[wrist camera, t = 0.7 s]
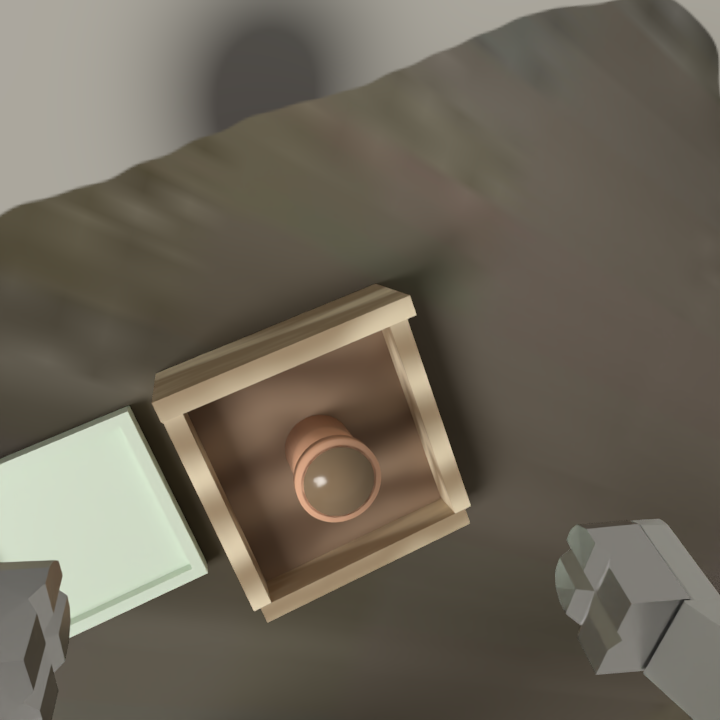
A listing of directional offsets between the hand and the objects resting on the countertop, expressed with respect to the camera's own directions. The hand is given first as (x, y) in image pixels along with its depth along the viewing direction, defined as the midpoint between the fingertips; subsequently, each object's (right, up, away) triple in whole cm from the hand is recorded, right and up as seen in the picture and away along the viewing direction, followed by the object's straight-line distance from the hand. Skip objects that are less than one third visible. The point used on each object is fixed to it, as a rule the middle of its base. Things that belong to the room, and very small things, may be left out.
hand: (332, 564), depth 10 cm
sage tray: (-23, -11, +44) cm, 51 cm away
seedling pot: (-3, -4, +48) cm, 48 cm away
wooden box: (-3, -4, +48) cm, 49 cm away
